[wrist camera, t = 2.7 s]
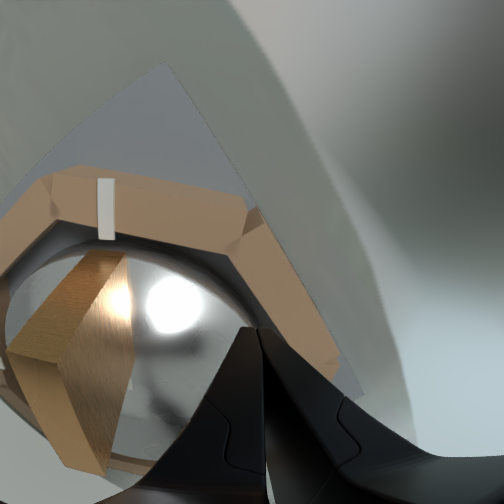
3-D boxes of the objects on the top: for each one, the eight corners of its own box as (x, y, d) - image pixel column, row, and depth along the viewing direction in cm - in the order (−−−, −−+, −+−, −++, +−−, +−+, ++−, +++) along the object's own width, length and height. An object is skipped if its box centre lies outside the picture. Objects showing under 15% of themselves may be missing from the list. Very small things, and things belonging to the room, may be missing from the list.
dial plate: (358, 382, 16) (377, 422, 13) (146, 464, 18) (142, 498, 15) (169, 66, 10) (151, 45, 7) (-45, 275, 11) (-76, 301, 8)
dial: (249, 441, 15) (263, 545, 9) (56, 417, 14) (25, 506, 8) (287, 245, 11) (361, 380, 5) (0, 225, 10) (-111, 304, 3)
